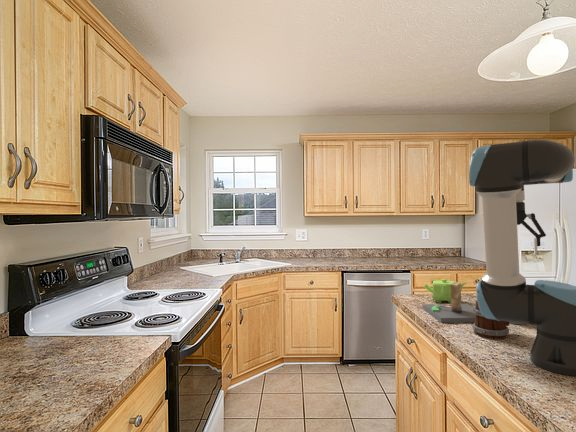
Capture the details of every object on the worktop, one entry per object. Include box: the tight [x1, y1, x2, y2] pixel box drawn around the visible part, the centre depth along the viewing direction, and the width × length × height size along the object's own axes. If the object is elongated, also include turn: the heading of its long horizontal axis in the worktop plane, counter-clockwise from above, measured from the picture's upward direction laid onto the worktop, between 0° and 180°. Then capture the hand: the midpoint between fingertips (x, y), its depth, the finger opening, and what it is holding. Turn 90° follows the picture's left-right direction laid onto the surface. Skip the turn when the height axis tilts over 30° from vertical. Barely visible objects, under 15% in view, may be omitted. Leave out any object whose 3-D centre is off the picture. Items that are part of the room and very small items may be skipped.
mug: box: [471, 299, 510, 340], centre depth 127 cm, size 12×14×15 cm
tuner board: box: [422, 303, 475, 324], centre depth 151 cm, size 22×20×3 cm
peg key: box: [434, 281, 463, 313], centre depth 151 cm, size 11×7×12 cm, turn 51°
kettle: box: [423, 278, 467, 304], centre depth 174 cm, size 15×14×11 cm
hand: (515, 254), depth 141 cm, fingers open, 13 cm apart
